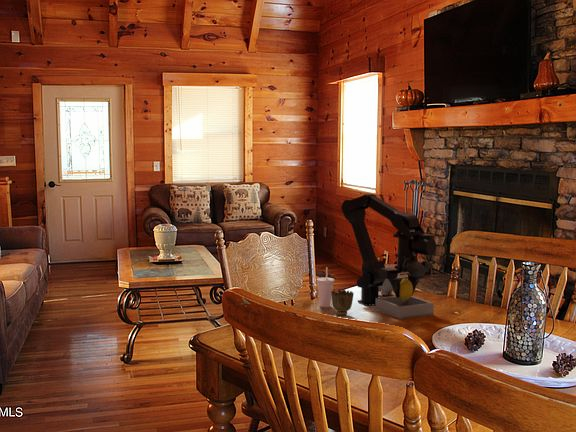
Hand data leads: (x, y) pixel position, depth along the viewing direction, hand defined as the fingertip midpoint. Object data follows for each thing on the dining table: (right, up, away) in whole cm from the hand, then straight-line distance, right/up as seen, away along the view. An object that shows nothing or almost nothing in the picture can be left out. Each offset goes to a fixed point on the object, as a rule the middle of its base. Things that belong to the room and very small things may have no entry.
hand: (404, 296), depth 212 cm
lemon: (0, -2, 0) cm, 2 cm away
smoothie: (-27, -5, +7) cm, 28 cm away
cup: (-22, -6, -5) cm, 23 cm away
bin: (0, -5, 0) cm, 5 cm away
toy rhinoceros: (-1, -3, +24) cm, 24 cm away
